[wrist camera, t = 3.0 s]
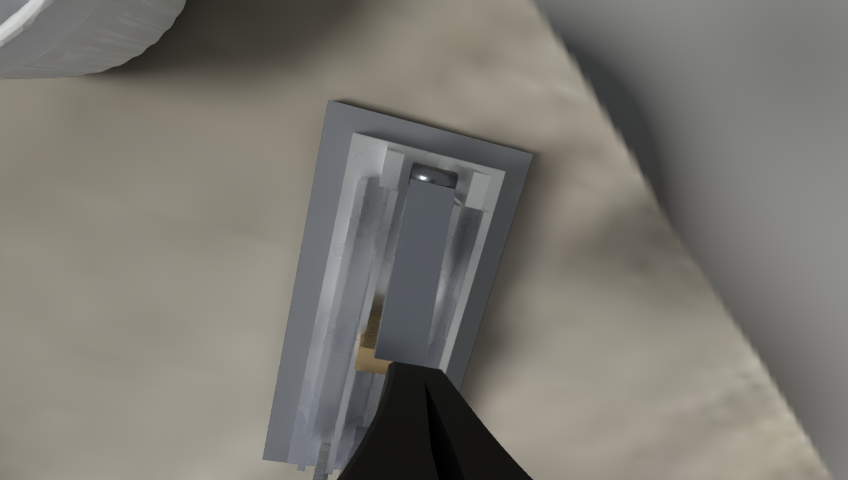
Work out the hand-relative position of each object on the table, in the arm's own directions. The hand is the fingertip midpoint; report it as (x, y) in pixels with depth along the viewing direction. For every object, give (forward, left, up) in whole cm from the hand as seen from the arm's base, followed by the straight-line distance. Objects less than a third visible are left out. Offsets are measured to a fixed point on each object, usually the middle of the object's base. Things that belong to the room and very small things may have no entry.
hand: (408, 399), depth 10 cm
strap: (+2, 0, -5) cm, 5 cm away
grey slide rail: (-2, 0, -9) cm, 9 cm away
